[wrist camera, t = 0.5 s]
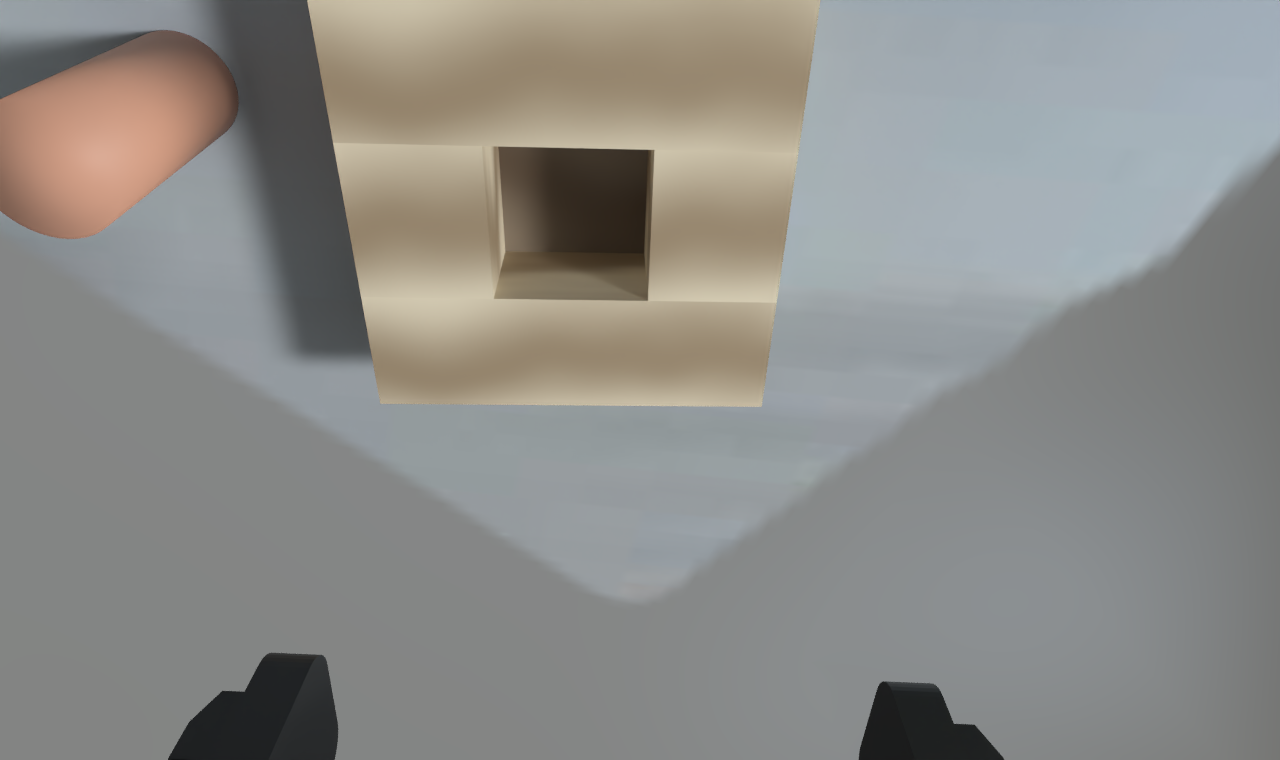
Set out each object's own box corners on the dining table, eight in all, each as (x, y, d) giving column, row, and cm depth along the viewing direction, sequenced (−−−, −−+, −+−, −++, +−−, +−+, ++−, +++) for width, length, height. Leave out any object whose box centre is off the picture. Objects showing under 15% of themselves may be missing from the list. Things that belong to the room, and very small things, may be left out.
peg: (107, 28, 26) (-64, 97, 19) (223, 31, 26) (92, 101, 19) (143, 140, 28) (-2, 237, 21) (249, 143, 28) (139, 239, 21)
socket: (343, -40, 25) (303, -20, 22) (793, -27, 26) (820, -5, 22) (403, 345, 33) (380, 403, 30) (746, 349, 34) (761, 406, 30)
